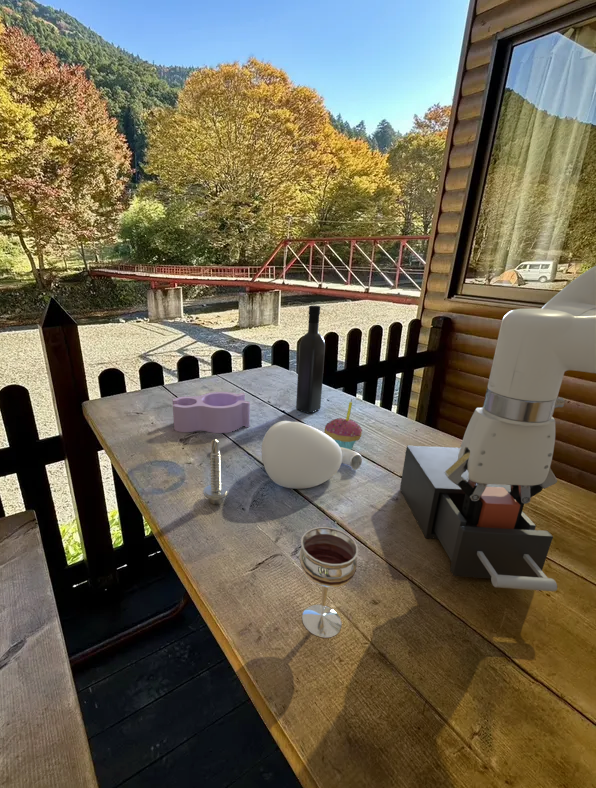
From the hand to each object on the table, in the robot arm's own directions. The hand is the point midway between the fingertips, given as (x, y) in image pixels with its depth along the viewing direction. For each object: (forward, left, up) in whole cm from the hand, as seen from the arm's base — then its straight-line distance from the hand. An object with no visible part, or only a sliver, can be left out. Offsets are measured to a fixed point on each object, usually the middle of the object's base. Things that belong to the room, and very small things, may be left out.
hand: (489, 519), depth 60 cm
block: (0, 0, 0) cm, 0 cm away
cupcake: (+15, -35, -8) cm, 39 cm away
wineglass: (+25, +14, -8) cm, 30 cm away
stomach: (+26, -25, -8) cm, 37 cm away
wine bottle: (+21, -59, -8) cm, 64 cm away
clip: (+48, -47, -8) cm, 68 cm away
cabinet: (0, -11, -7) cm, 14 cm away
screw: (+42, -11, -8) cm, 44 cm away
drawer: (0, +1, -6) cm, 7 cm away
